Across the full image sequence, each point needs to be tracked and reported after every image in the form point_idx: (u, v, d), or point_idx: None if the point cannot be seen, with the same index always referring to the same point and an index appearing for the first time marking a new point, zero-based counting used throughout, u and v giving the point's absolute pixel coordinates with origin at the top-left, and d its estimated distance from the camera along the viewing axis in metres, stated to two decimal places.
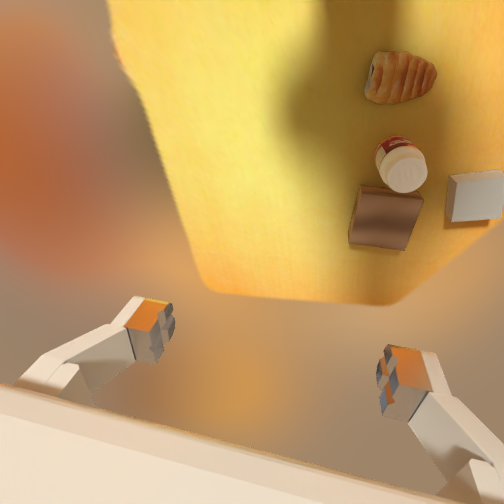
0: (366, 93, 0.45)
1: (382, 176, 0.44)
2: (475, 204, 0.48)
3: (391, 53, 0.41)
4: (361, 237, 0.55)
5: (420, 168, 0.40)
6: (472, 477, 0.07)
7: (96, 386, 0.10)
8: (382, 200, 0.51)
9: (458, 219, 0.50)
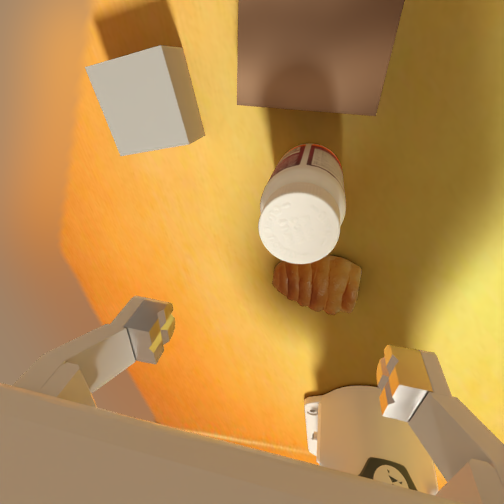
0: None
1: (341, 198, 0.20)
2: (140, 97, 0.24)
3: None
4: None
5: (274, 243, 0.19)
6: (472, 477, 0.07)
7: (96, 386, 0.10)
8: (325, 98, 0.21)
9: (151, 55, 0.22)
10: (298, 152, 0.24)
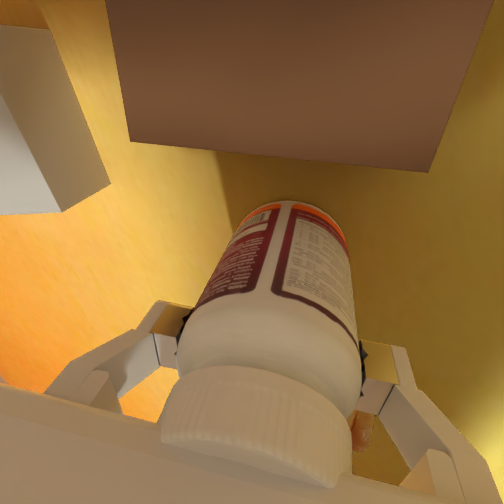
0: None
1: (352, 377, 0.08)
2: None
3: None
4: None
5: None
6: (428, 466, 0.07)
7: (122, 392, 0.10)
8: (314, 133, 0.09)
9: None
10: (263, 230, 0.12)
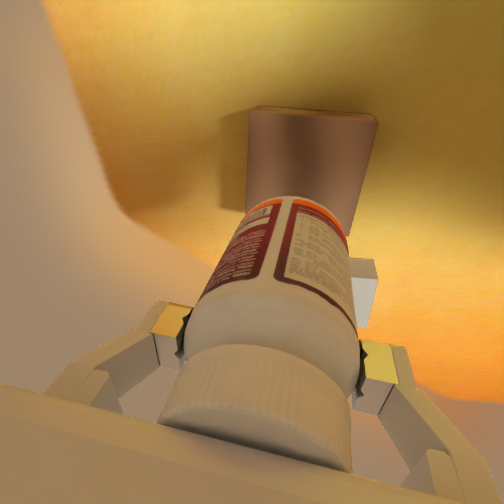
0: None
1: (351, 358, 0.09)
2: None
3: None
4: (266, 138, 0.25)
5: None
6: (428, 466, 0.07)
7: (122, 392, 0.10)
8: (355, 168, 0.24)
9: None
10: (266, 223, 0.13)
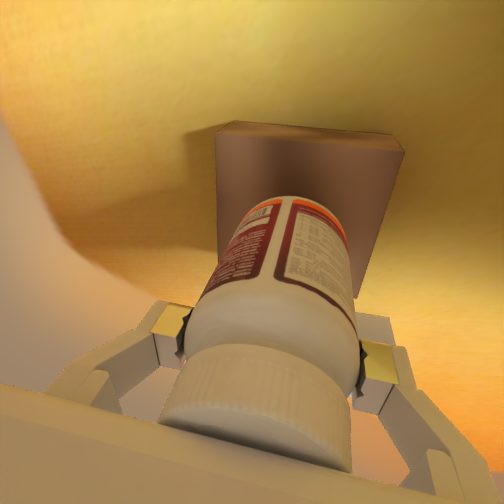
0: None
1: (351, 357, 0.09)
2: None
3: None
4: (242, 170, 0.17)
5: None
6: (428, 466, 0.07)
7: (122, 392, 0.10)
8: (369, 213, 0.17)
9: None
10: (266, 223, 0.13)
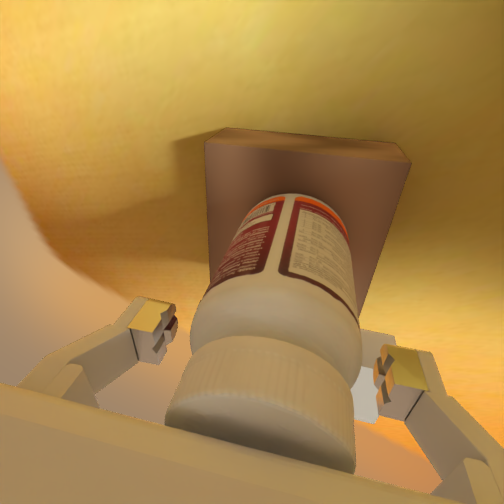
0: None
1: (354, 349, 0.09)
2: None
3: None
4: (233, 182, 0.16)
5: None
6: (466, 476, 0.07)
7: (99, 387, 0.10)
8: (371, 229, 0.16)
9: None
10: (269, 220, 0.13)
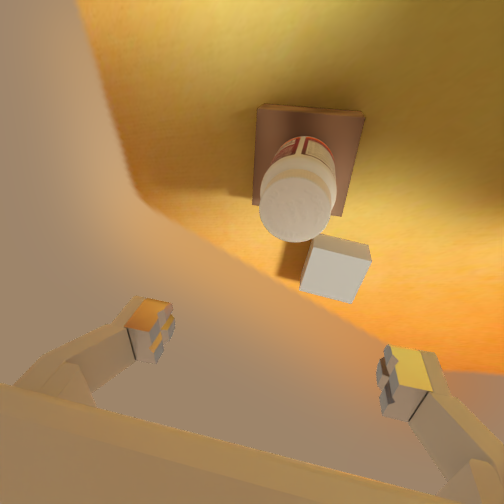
0: None
1: (332, 183, 0.22)
2: (329, 272, 0.37)
3: None
4: (271, 131, 0.29)
5: (273, 224, 0.22)
6: (472, 477, 0.07)
7: (96, 386, 0.10)
8: (346, 156, 0.29)
9: (314, 254, 0.36)
10: (293, 144, 0.26)
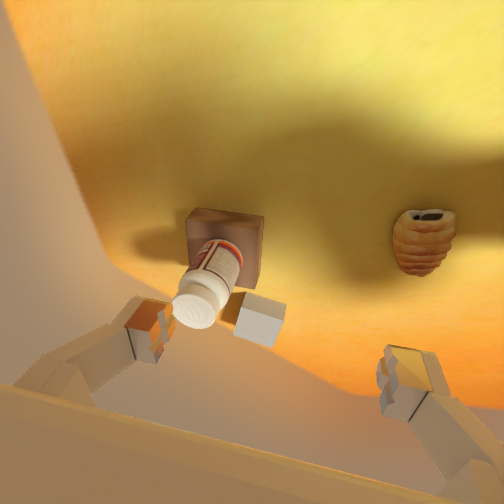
0: (408, 216, 0.35)
1: (222, 289, 0.34)
2: (254, 325, 0.48)
3: (455, 233, 0.35)
4: (197, 234, 0.41)
5: (182, 317, 0.33)
6: (472, 477, 0.07)
7: (96, 386, 0.10)
8: (251, 252, 0.40)
9: (242, 312, 0.47)
10: (206, 251, 0.37)
